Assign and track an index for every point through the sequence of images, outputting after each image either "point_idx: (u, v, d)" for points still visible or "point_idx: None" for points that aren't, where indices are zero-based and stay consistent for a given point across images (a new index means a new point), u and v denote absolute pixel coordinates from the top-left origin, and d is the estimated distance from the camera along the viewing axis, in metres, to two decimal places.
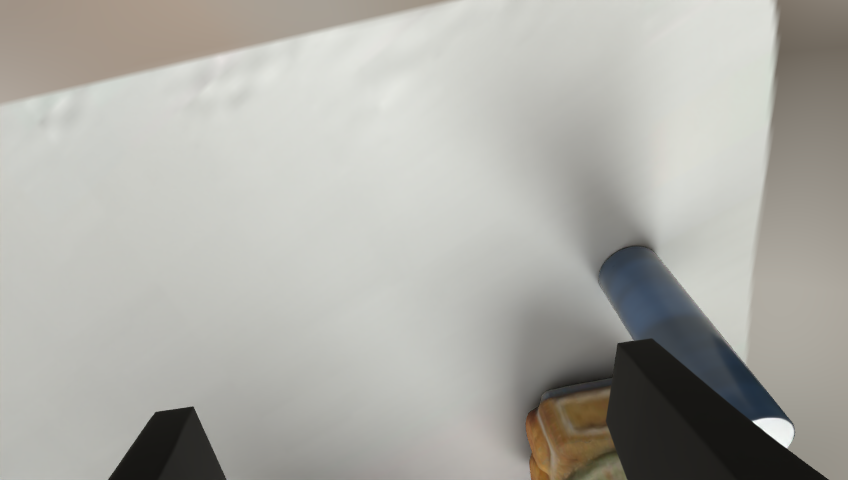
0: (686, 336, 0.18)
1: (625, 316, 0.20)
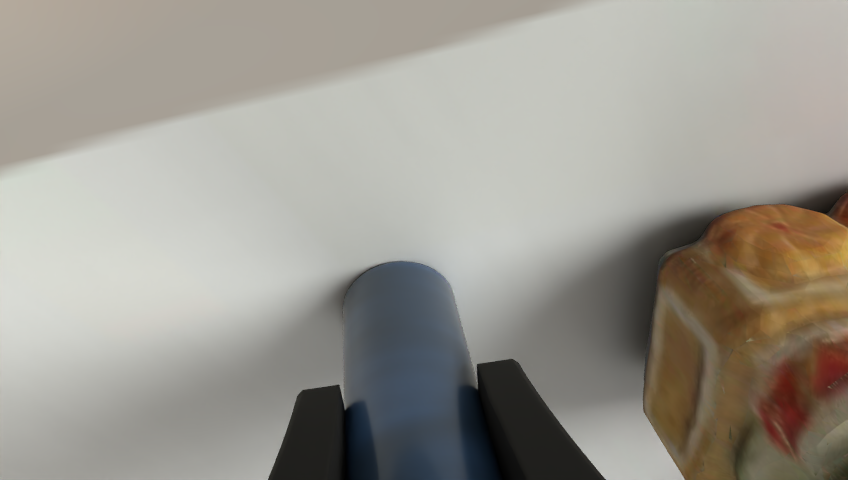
0: None
1: None
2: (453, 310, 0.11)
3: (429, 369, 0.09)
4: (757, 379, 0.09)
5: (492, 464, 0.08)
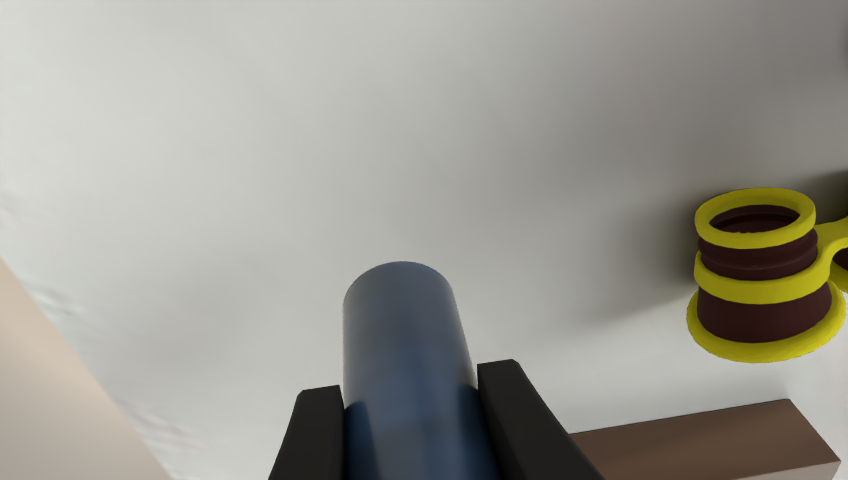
0: None
1: None
2: (453, 310, 0.11)
3: (429, 369, 0.09)
4: None
5: (492, 464, 0.08)
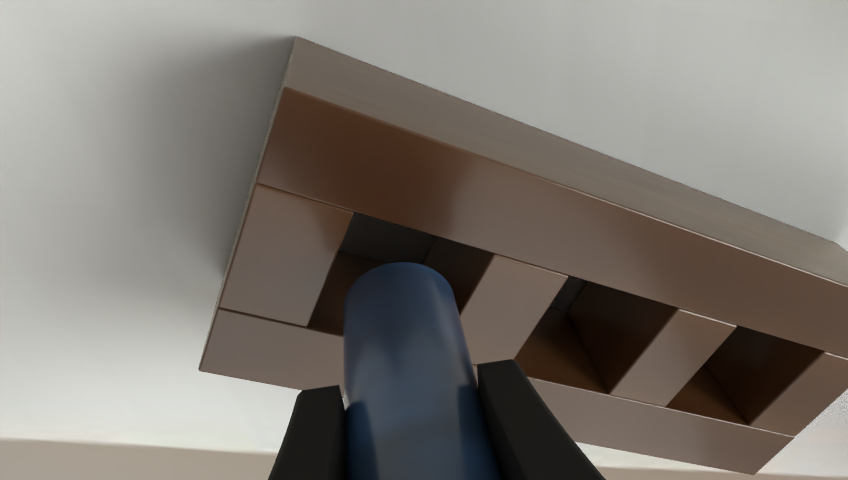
0: None
1: None
2: (453, 311, 0.11)
3: (429, 370, 0.09)
4: None
5: (492, 465, 0.08)
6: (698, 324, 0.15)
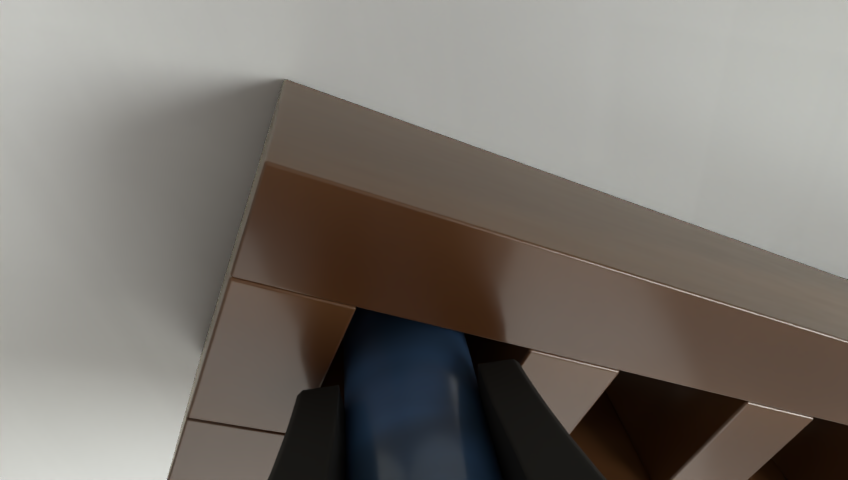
0: None
1: None
2: None
3: (429, 369, 0.09)
4: None
5: (492, 464, 0.08)
6: (768, 419, 0.12)
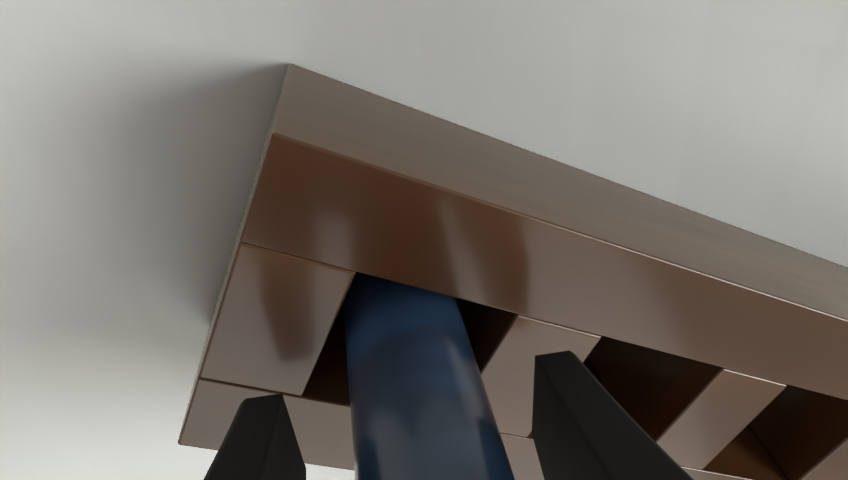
0: None
1: None
2: None
3: (418, 294, 0.11)
4: None
5: (473, 364, 0.10)
6: (743, 385, 0.13)
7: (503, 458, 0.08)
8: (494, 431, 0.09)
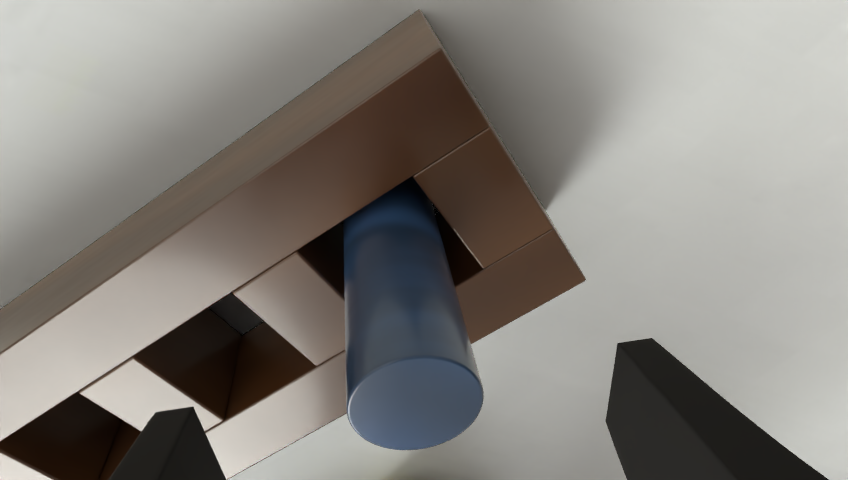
0: (408, 246, 0.12)
1: None
2: None
3: None
4: None
5: None
6: None
7: None
8: None
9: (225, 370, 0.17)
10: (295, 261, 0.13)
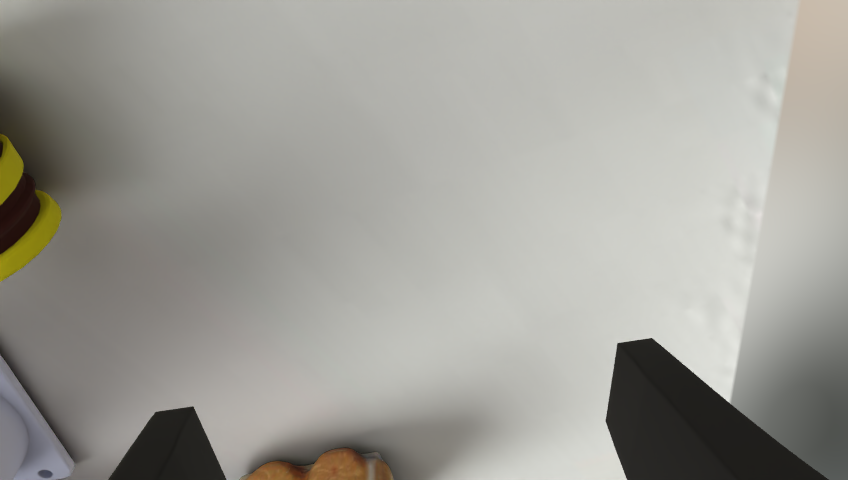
0: None
1: None
2: None
3: None
4: None
5: None
6: None
7: None
8: None
9: None
10: None
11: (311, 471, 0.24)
